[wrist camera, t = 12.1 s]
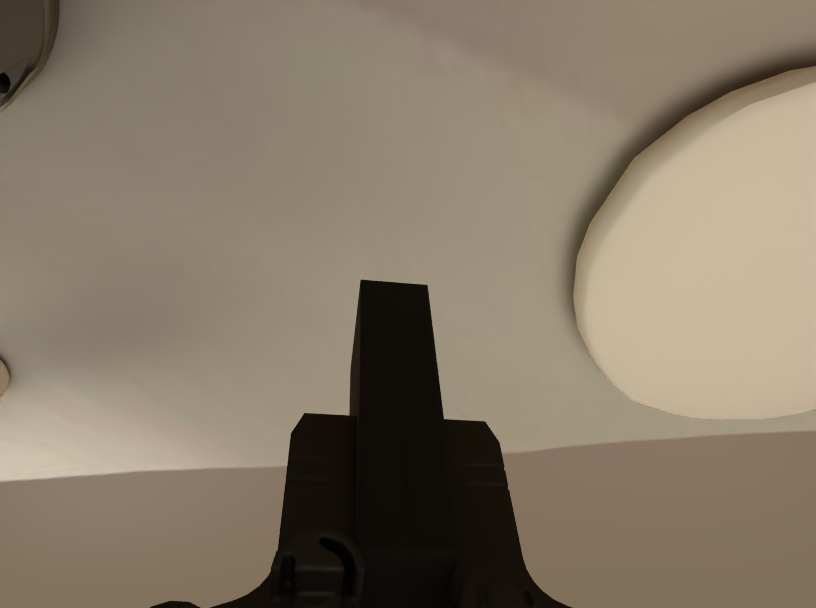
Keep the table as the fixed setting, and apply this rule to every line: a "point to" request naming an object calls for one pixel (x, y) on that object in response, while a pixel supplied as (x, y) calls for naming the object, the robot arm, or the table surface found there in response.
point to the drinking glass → (3, 379)
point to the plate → (712, 261)
